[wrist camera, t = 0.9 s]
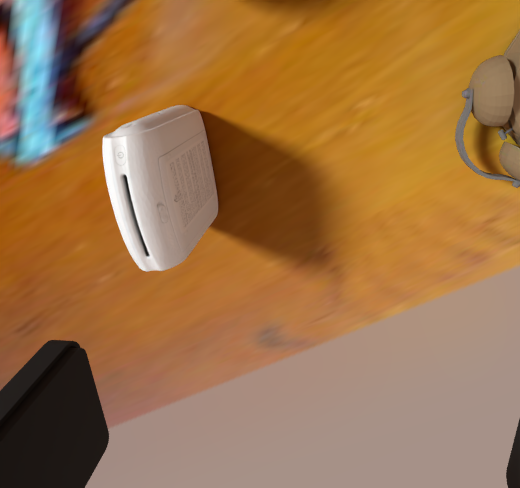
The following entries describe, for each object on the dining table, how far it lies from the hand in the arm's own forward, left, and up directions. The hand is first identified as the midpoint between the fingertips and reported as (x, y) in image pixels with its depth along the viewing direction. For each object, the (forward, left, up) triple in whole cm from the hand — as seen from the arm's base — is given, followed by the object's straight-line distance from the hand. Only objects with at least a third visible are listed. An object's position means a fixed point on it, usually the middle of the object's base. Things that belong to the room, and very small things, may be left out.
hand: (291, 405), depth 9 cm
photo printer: (+2, -12, -30) cm, 32 cm away
